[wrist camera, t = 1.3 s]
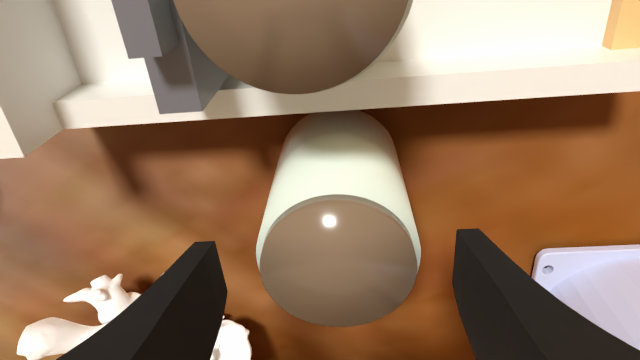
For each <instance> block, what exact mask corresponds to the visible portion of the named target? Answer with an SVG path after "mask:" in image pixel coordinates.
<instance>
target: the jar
mask: <svg viewBox="0 0 640 360" xmlns="http://www.w3.org/2000/svg"><path fill="white" fill-rule="evenodd" d="M256 257H257V263H258V267H259V270H260V275H261V279H262V282H263V285H264V287H265V289H266V291H267V292H268V294H269V295H270V297H271V298H272V299H273V300H274V301H275V302H276V303H277V304H278V305H279V306H280V307H281V308H282V309H284V310H285V311H287V312H288V313H289V314H291V315H293V316H295V317H297V318H299V319H301V320H304V321H306V322H310V323H313V324H317V325H322V326H330V327H349V326H357V325H362V324H366V323H369V322H372V321H375V320H377V319H380V318H382V317H384V316H386V315H387V314H389V313H390V312H392V311H393V310H395V309H396V308H397V307H398V306H399V305H401V303H402V302H403V301H404V300H405V299H406V298H407V296H408V295H409V293H410V292H411V290H412V288H413V286H414V283H415V280H416V276H417V272H418V269H419V265H420V259H421V246H420V241H419V237H418V233H417V229H416V226H415V222H414V218H413V214H412V210H411V206H410V203H409V199H408V195H407V191H406V187H405V183H404V180H403V176H402V172H401V168H400V164H399V160H398V157H397V153H396V149H395V145H394V142H393V140H392V138H391V136H390V134H389V132H388V131H387V130H386V128H385V127H384V126H383V125H382V124H381V123H380V122H379V121H378V120H376V119H375V118H373V117H372V116H370V115H368V114H367V113H364V112H362V111H359V110H345V111H329V112H314V113H311V114H309V115H307V116H305V117H304V118H302V119H301V120H300V121H298V122H297V123H296V124H295V125H294V126H293V127H292V129H291V130H290V131H289V133H288V134H287V136H286V138H285V140H284V143H283V145H282V149H281V153H280V157H279V160H278V164H277V168H276V172H275V176H274V179H273V183H272V187H271V191H270V194H269V198H268V202H267V206H266V210H265V213H264V217H263V221H262V225H261V229H260V232H259V236H258V241H257V245H256Z"/></svg>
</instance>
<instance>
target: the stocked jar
mask: <svg viewBox="0 0 640 360" xmlns="http://www.w3.org/2000/svg"><path fill="white" fill-rule="evenodd" d="M173 1H174V4H175V6H176V9H177V11H178V14H179V16H180V18H181V20H182V22H183V24H184V26H185V27H186V29H187V31H188V33H189V34H190V36H191V37H192V38H193V40H194V41H195V43H196V44H197V45H198V47H199V48H200V49H201V50H202V51H203V52H204V53H205V54H206V55H207V57H208V58H209V59H210V60H212V61H213V62H214V63H215V64H216V65H217V66H218V67H220V68H221V69H222V70H224V71H225V72H226V73H228V74H229V75H231V76H232V77H234V78H236V79H238V80H240V81H241V82H243V83H245V84H248V85H250V86H253V87H255V88H258V89H261V90H265V91H269V92H273V93H281V94H310V93H317V92H322V91H326V90H329V89H333V88H335V87H338V86H340V85H343V84H345V83H347V82H349V81H351V80H353V79H354V78H356V77H358V76H360V75H361V74H362V73H364V72H365V71H366V70H368V69H369V68H370V67H372V66H373V65H374V64H375V63H376V62H377V61H378V60H379V59H380V58H381V57H382V56H383V55H384V54H385V52H386V51H387V50H388V49H389V47H390V46H391V45H392V44H393V42H394V41H395V39H396V37H397V36H398V34H399V33H400V31H401V30H402V27H403V25H404V23H405V21H406V19H407V17H408V15H409V12H410V9H411V6H412V3H413V0H173Z"/></svg>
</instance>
